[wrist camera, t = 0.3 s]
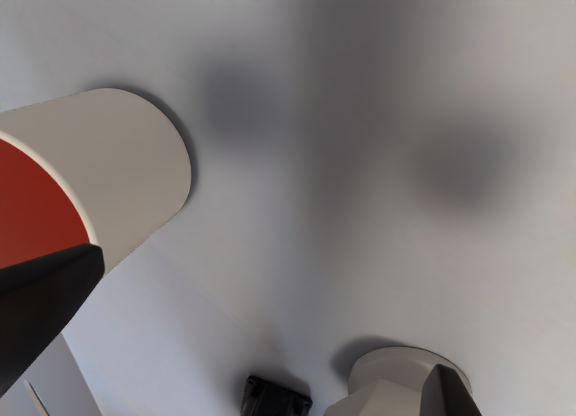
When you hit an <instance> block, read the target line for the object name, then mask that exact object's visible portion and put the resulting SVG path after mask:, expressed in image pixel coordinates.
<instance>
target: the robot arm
mask: <svg viewBox="0 0 576 416" xmlns="http://www.w3.org/2000/svg"><path fill="white" fill-rule="evenodd" d="M104 273H105V263H104V256H103V250H102V248H101V247H100V246H98V245H95V244H92V243H87V242H86V243H82V244H78V245H75V246H72V247H69V248H66V249H62V250H59V251H56V252H53V253H50V254H46V255H43V256H40V257H37V258H33V259H30V260H27V261H24V262H21V263H17V264H14V265H11V266H8V267H4V268H1V269H0V398H1V397H2V396H3V395H4V394H5V393H6V392H7V390H8V389H9V388H10V387H11V386H12V385H13V384H14V383H15V382H16V380H17V379H18V378H19V377H20V376H21V375H22V374H23V373H24V371H26V369H27V368H28V367H29V366H30V365H31V364H32V363H33V362H34V361H35V360H36V358H37V357H38V356H39V355H40V354H41V353H42V352H43V351H44V349H45V348H46V347H47V346H48V345H49V344H50V343H51V342H52V341H53V340H54V339H55V337H56V336H57V335H58V334H59V333H60V332H61V331H62V330H63V328H64V327H65V326H66V325H67V324H68V323H69V321H70V320H71V319H72V318H73V316H74V315H75V314H76V312H77V311H78V310H79V308H80V307H81V306H82V304H83V303H84V302H85V300H86V299H87V297H88V296H89V295H90V293H91V292H92V291H93V289H94V288H95V287H96V285H97V284H98V283H99V281H100V280H101V279H102V277H103V275H104ZM312 404H313V401H312V400H311V399H310V398H308V397H306V396H303V395H301V394H298V393H296V392H293V391H290V390H288V389H285V388H283V387H280V386H278V385H275V384H273V383H270V382H268V381H265V380H263V379H260V378H258V377H255V376H252V375H250V376H248V379H247V381H246V386H245V391H244V396H243V401H242V406H241V411H240V416H308V415H309V413H310V410H311V408H312ZM419 416H482V415H481V413H480V411H479V409H478V408H477V406H476V404H475V402H474V401H473V399H472V397H471V395H470V394H469V392H468V390H467V388H466V387H465V385H464V383H463V381H462V380H461V378H460V376H459V374H458V373H457V371H456V370H455V369H453V368H451V367H448V366H445V365H442V364H436V365H435V366H434V367H433V369H432V371H431V372H430V374H429V375H428V377H427V379H426V380H425V382H424V384H423V387H422V392H421V402H420V413H419Z"/></svg>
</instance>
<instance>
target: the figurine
mask: <svg viewBox="0 0 576 416" xmlns="http://www.w3.org/2000/svg"><path fill="white" fill-rule="evenodd" d="M436 364H442V365H445V366H448V367H451V368H453V369H455V370H456V371H457V373H458V374H459V376H460V378H461V380H462V381H463V383H464V385H465V387H466V388H467V390H468V392H469V394H470V395H471V397H472V391H471V387H470V384H469V382H468V380H467V378H466V377H465V375H464V374H463V373H462V372H461V371H460V370H459V369H458V368H457V367H456V366H454V365H453V364H452V363H450V362H449V361H447V360H446V359H444V358H442V357H440V356H438V355H436V354H433V353H431V352H428V351H425V350H421V349H417V348H410V347H386V348H380V349H376V350H373V351H371V352H368V353H367V354H365V355H363V356H362V357H360V358H359V359H358V360H357V361H356V362H355V364H354V365H353V367H352V369H351V373H350V377H349V381H348V394H349V395H348V396H347V397H345V398H343V399H341V400H340V401H338V402H336V403H335V404H333V405H331V406H330V407H328V408H327V409H326V411H325V413H324V416H419V413H420V402H421V392H422V387H423V384H424V382H425V380H426V379H427V377H428V375H429V374H430V372H431V371H432V369H433V367H434V366H435V365H436Z"/></svg>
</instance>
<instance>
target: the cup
mask: <svg viewBox="0 0 576 416" xmlns="http://www.w3.org/2000/svg"><path fill="white" fill-rule="evenodd" d="M190 185H191V165H190V160H189V156H188V152H187V149H186V147H185V144H184V142H183V140H182V138H181V136H180V134H179V133H178V131H177V130H176V128H175V127H174V125H173V124H172V123H171V122H170V120H169V119H168V118H167V117H166V116H165V115H164V114H163V113H162V112H161V111H160V110H159V109H158V108H157V107H155V106H154V105H153V104H151V103H150V102H148V101H147V100H145V99H143V98H141V97H139V96H137V95H135V94H133V93H130V92H127V91H124V90H119V89H113V88H101V89H94V90H90V91H86V92H82V93H77V94H73V95H69V96H65V97H61V98H57V99H53V100H49V101H45V102H41V103H37V104H33V105H29V106H25V107H21V108H17V109H13V110H9V111H5V112H1V113H0V269H1V268H4V267H8V266H11V265H14V264H17V263H21V262H24V261H27V260H30V259H33V258H37V257H40V256H43V255H46V254H50V253H53V252H56V251H59V250H62V249H66V248H69V247H72V246H75V245H78V244H82V243H86V242H87V243H92V244H95V245H98V246H100V247H101V248H102V250H103V256H104V263H105V273H104V275H103V277H104V276H105V275H106V274H108V273H109V272H110V271H111V270H112V269H113V268H114V267H116V266H117V265H118V264H119V263H120V262H121V261H123V260H124V259H125V258H126V257H127V256H128V255H129V254H131V253H132V252H133V251H134V250H135V249H136V248H137V247H139V246H140V245H141V244H142V243H143V242H144V241H146V240H147V239H148V238H149V237H150V236H151V235H152V234H154V233H155V232H156V231H157V230H158V229H159V228H160V227H162V226H163V225H164V224H165V223H166V222H167V221H169V220H170V219H171V218H172V217H173V216H174V215H175V214H176V213H177V212H178V211H179V210H180V209H181V207H182V206H183V204H184V203H185V201H186V199H187V196H188V193H189V190H190ZM103 277H102V278H103Z"/></svg>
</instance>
